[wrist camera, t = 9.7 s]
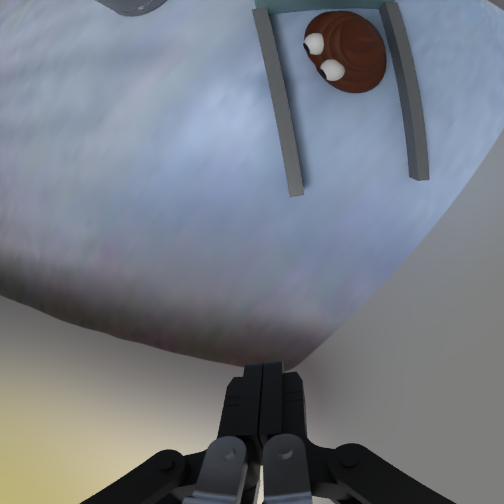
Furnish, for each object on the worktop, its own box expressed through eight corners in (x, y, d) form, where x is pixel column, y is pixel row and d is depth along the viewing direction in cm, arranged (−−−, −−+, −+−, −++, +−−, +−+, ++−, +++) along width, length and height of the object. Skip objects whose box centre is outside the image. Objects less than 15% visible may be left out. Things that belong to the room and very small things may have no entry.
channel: (251, 6, 26) (247, -11, 21) (386, -1, 23) (400, -16, 19) (289, 192, 34) (291, 202, 29) (420, 175, 32) (439, 183, 27)
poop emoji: (394, 79, 28) (431, 66, 19) (332, 107, 30) (352, 99, 21) (349, 7, 25) (371, -27, 16) (285, 32, 27) (288, 1, 18)
